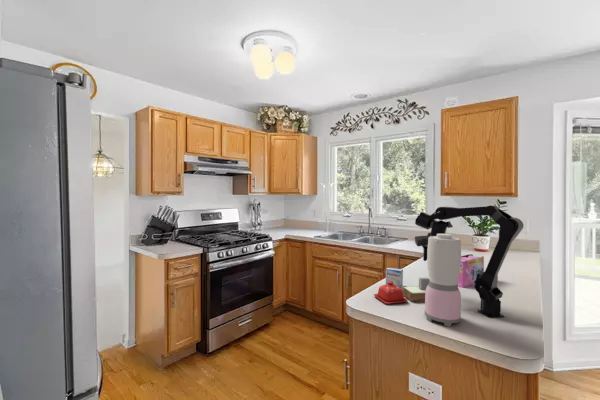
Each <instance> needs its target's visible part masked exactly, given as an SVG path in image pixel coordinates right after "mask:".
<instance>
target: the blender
mask: <svg viewBox="0 0 600 400" xmlns="http://www.w3.org/2000/svg"><path fill="white" fill-rule="evenodd" d="M461 256H462V241H461V239H460V238H458V237H453V235H452V234H450V233H445V234H437V236H431V237H429V238H428V249H427V260H426V265H427V272H428V278H429V284H428V286H427V288H426V291H425V302H424V316H426V320H427V321H428V322H430V323H431V322H433V321H435V322H439V323H443V324H444V326H445V327H448V328H449V327H451V326H452V324H457V323H460V322H461V321H462V319H461V318H462V316H461V315H462V312H461V311H462V294H461V291H460V289H459V287H458V285H457V283H458V278H459V273H460V267H461Z"/></svg>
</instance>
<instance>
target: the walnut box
mask: <svg viewBox="0 0 600 400" xmlns="http://www.w3.org/2000/svg"><path fill="white" fill-rule="evenodd" d="M404 287H405V286H401V289H402V291H403V296H404V298H405V299H407V300H408V301H409V302H410V303H425V293H412V292H410V291H409V290H407V289H406V288H404ZM415 287H419V285H418V286H415Z"/></svg>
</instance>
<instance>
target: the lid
mask: <svg viewBox="0 0 600 400" xmlns="http://www.w3.org/2000/svg"><path fill="white" fill-rule="evenodd" d="M428 284H429V277H419V278H418V286H419V287H416V286H403V287H404V288H406V289H407V290H409V291H410V292H412V293H425V291H426V288H427V286H428Z"/></svg>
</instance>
